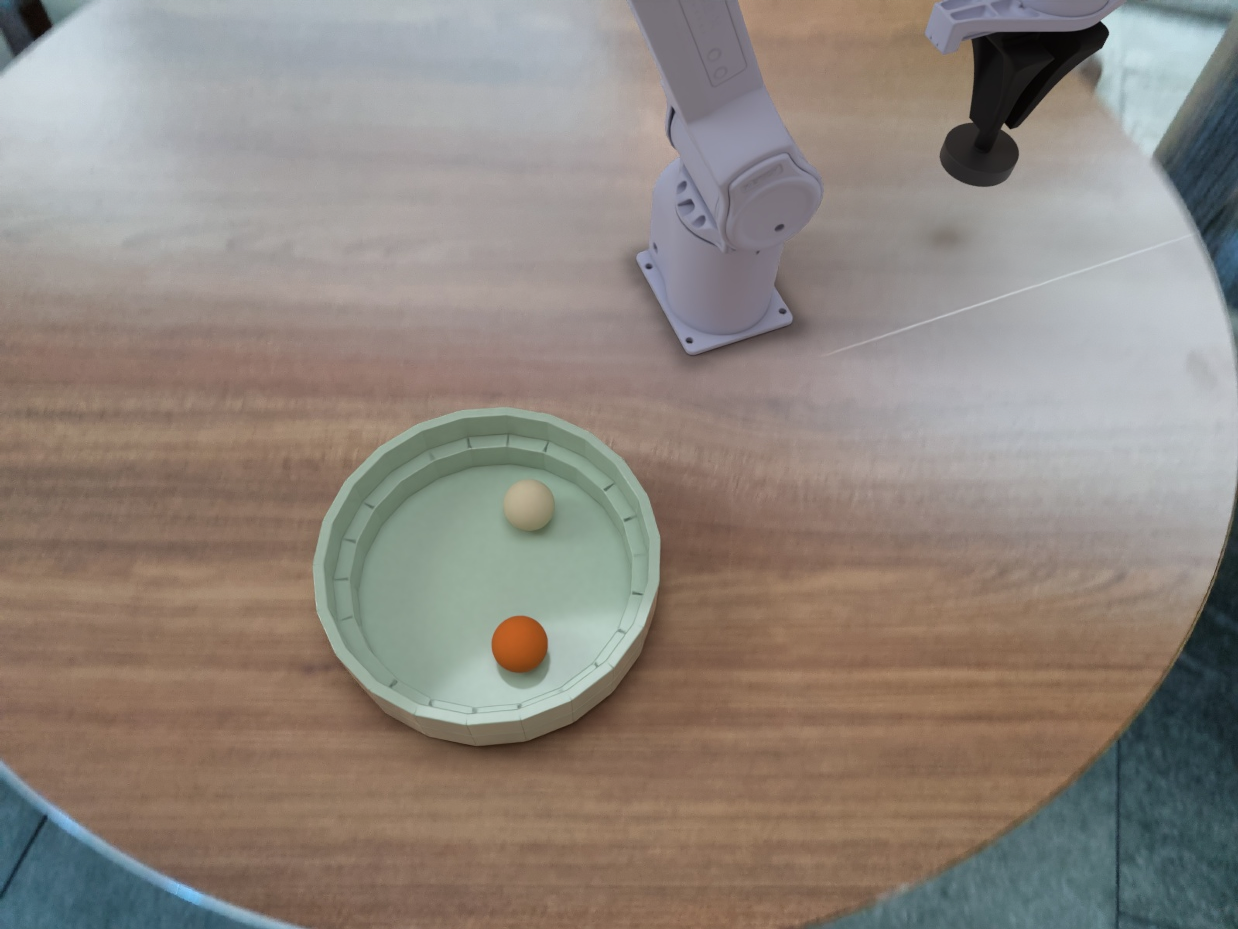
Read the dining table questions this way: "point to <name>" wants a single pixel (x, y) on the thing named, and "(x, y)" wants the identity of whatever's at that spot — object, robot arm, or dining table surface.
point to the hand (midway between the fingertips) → (993, 121)
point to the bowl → (487, 574)
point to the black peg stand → (978, 156)
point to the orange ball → (519, 644)
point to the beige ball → (528, 504)
